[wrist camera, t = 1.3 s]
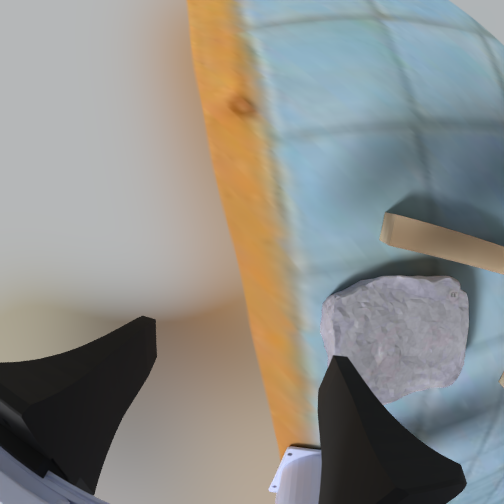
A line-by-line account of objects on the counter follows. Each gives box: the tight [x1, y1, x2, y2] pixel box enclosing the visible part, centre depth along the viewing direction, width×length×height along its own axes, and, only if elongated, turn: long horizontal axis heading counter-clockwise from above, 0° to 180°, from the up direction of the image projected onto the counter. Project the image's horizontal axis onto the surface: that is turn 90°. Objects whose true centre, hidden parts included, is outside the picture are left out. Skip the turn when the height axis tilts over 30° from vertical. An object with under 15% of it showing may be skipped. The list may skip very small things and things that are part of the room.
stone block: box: [320, 275, 469, 405], centre depth 19 cm, size 12×5×10 cm
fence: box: [379, 212, 504, 388], centre depth 17 cm, size 13×21×4 cm, turn 80°
